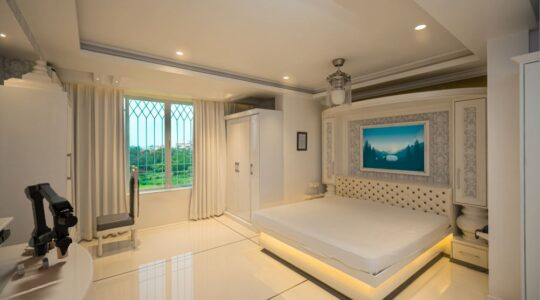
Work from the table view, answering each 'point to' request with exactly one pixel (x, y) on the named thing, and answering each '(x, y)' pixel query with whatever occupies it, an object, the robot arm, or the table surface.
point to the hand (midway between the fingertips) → (62, 254)
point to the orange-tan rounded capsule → (59, 255)
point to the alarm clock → (31, 250)
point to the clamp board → (33, 270)
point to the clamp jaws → (44, 263)
